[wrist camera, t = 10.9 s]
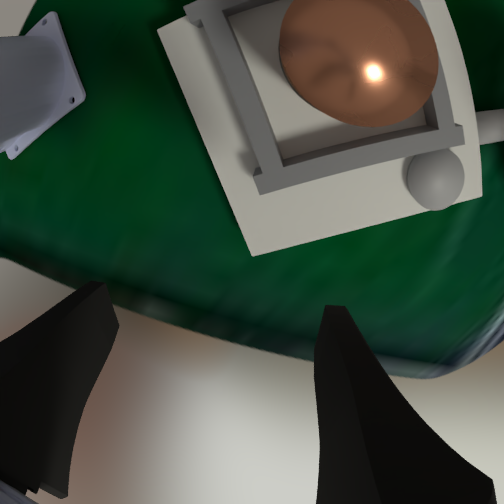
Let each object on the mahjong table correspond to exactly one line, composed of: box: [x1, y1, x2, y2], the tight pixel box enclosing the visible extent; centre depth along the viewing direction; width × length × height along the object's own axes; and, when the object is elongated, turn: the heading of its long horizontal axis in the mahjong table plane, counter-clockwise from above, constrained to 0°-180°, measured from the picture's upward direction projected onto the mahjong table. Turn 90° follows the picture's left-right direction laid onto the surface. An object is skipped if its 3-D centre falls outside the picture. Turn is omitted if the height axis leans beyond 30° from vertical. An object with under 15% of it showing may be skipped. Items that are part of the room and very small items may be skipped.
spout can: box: [278, 0, 439, 127], centre depth 9 cm, size 5×6×6 cm
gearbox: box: [157, 0, 504, 256], centre depth 13 cm, size 19×14×4 cm
